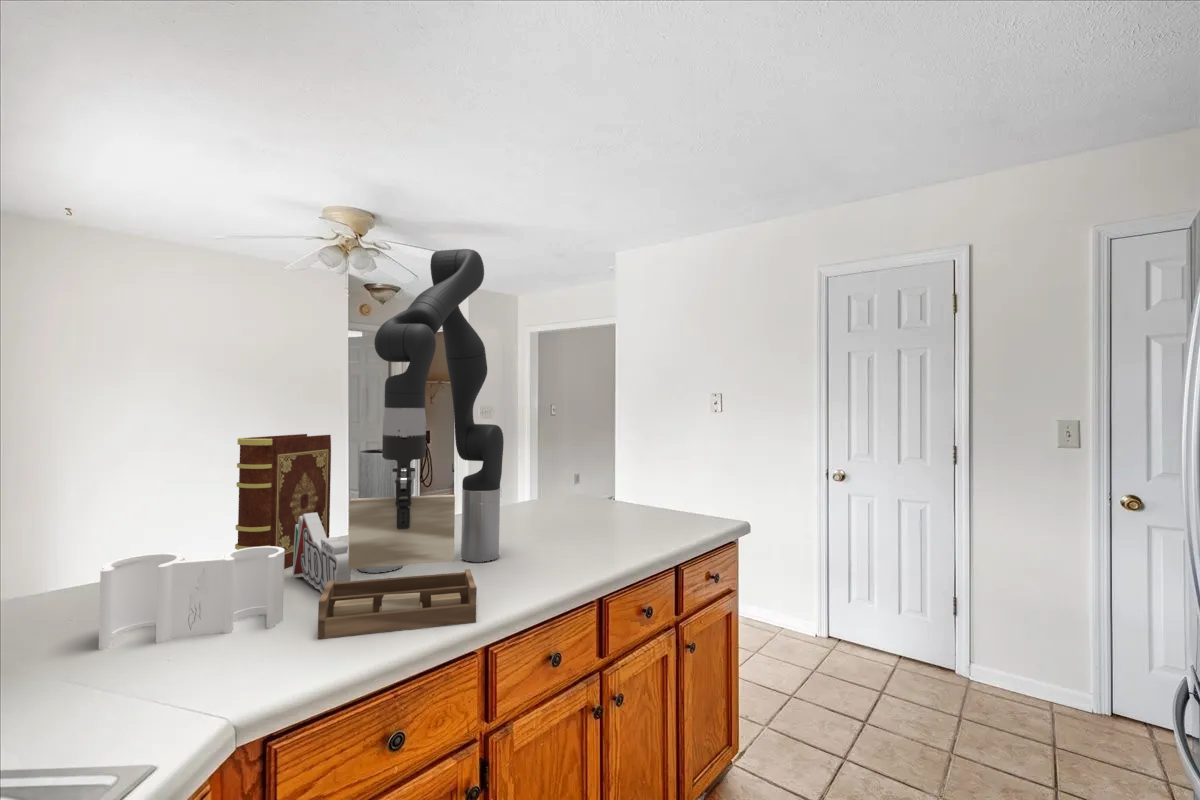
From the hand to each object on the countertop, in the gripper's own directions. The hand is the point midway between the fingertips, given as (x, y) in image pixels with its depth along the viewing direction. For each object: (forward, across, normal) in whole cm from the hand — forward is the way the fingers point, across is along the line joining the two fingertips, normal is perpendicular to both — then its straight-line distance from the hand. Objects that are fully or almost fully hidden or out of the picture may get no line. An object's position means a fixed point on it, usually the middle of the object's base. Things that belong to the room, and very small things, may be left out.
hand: (403, 526), depth 102 cm
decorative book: (+16, -41, -27) cm, 52 cm away
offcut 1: (+16, +6, -8) cm, 18 cm away
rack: (+16, +3, 0) cm, 16 cm away
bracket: (+16, -2, -32) cm, 36 cm away
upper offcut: (+13, +6, 0) cm, 14 cm away
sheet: (+7, 0, 0) cm, 7 cm away
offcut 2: (+16, +6, +7) cm, 18 cm away
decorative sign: (+16, -19, -16) cm, 30 cm away
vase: (+16, -31, -5) cm, 35 cm away
